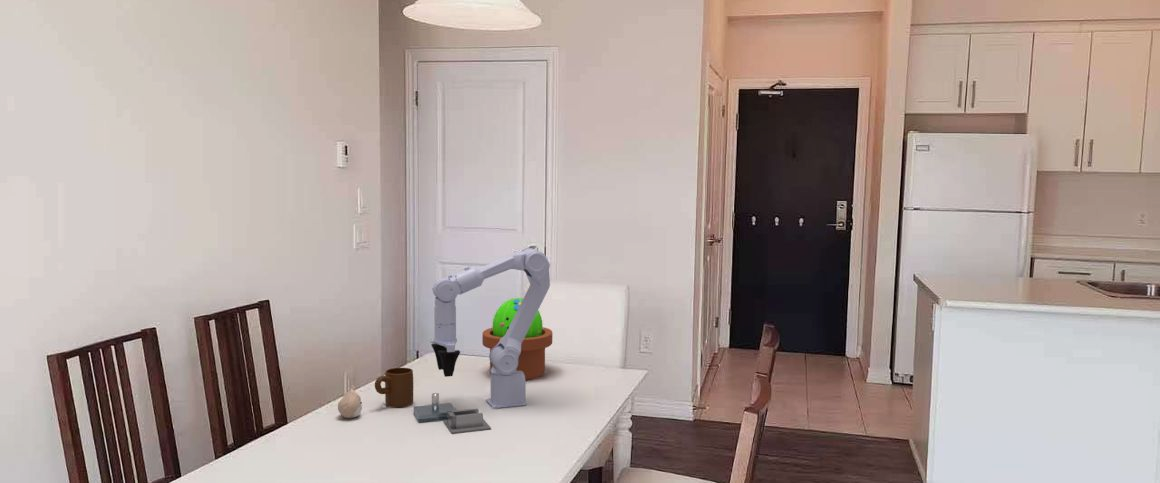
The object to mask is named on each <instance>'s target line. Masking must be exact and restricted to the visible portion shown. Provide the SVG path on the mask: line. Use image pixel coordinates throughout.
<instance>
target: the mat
mask: <svg viewBox="0 0 1160 483" xmlns="http://www.w3.org/2000/svg"><path fill="white" fill-rule="evenodd" d="M442 422H443V424H444V425H445V426H446V428H447V429H448V432H450V434H451V435H454V434H462V433H463V434H464V433H471V432H472V433H474V432H479V431H481V432H482V431H489V430H492V427H491V426H490V425H489V423H488V422H487V421H486V420H485V419H484V418H483V426H476V427H467V428H459V429H451V428H450V426H449V425H448V423H447V420H443V421H442Z"/></svg>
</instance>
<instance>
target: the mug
mask: <svg viewBox="0 0 1160 483" xmlns="http://www.w3.org/2000/svg"><path fill="white" fill-rule="evenodd" d="M384 374H385V375H380V376H379V377H377V378H376V380H375V382H374V389H375V391H376V392H377V393H378V394H380V395H384V398H385V402H384V403H385V405H386V406H388V407H390V408H398V409H399V408H406V407H409V406H412V404H413V403H414V371H413V368H408V367H393V368H388V369H387V370H385V373H384ZM382 382H384V387H382V385H381V384H382Z"/></svg>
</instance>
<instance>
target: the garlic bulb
mask: <svg viewBox="0 0 1160 483" xmlns="http://www.w3.org/2000/svg"><path fill="white" fill-rule="evenodd" d="M355 389H357V387H356V386H355V385H353V384H351V385H350V390H348V391H347V392H345V394H344V395H343V397H342V398H341V399H340V401H339V402H338V404H337V411H338V412H339V414H340V415H341V416H342V417H343V418H345V419H353V418H356V417H358V416H359V415H360V414H361V412H362V409H363V401H362V400H361V396H360V395H359V394H358V393H357V392H356V391H355Z"/></svg>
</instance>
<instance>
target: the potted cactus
mask: <svg viewBox="0 0 1160 483" xmlns="http://www.w3.org/2000/svg"><path fill="white" fill-rule="evenodd" d="M522 300H523V298H521V297H515V298H514V297H511V298H509V299H507V301H503V302H502V303H501V305H500V306H499V307H498V308H497V309H495V310H496V312H494V314H493V315H492V317H493V318H492V325H490V327H489V328H487V329H485V330H483V332H482V341H481V342H482V345H483V347H485V348H487V349H489V352H490V351H491V350H492V349H493V348H494V347H495V346H496V345H497V344H498V343H499V341H500V339H501V338H502V337H503V336H505V334H506V332H507V330H508V328H509V326H510V324H511V322H512V320H513V318H514V316H515V314H516V312H517V310H518V308H519V306H520V304H521V302H522ZM552 344H553V330H552V329H550V328H548V327H544V326H543V319H542V316H541V312H540V310H538V311H537V314H536V316H535V318H534V320H533V322H532V324H531V326H530V328H529V330H528V332H527V334H526V336H525V338H524V340H523V342H522V344H521V353H520V355H519V358H518V366H517V371H523V373H524V375H525V381H529V380H535V379H538V378H541V377H542V376H543V375H544V374H546V373H545V372H546V348H549V347H550V346H551V345H552ZM492 367H493V364H492V363H491V362H490V361H489V374H490V375H491V369H492Z"/></svg>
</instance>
